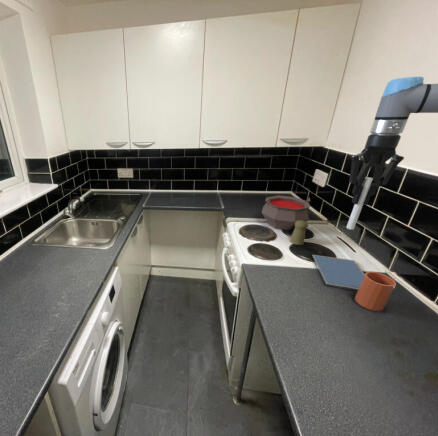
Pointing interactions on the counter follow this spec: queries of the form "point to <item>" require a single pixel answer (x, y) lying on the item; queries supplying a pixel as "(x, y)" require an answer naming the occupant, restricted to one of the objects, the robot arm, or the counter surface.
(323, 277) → the tablet
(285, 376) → the counter surface
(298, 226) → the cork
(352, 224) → the stylus
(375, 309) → the pen pot
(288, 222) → the cauldron
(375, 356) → the counter surface
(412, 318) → the counter surface
